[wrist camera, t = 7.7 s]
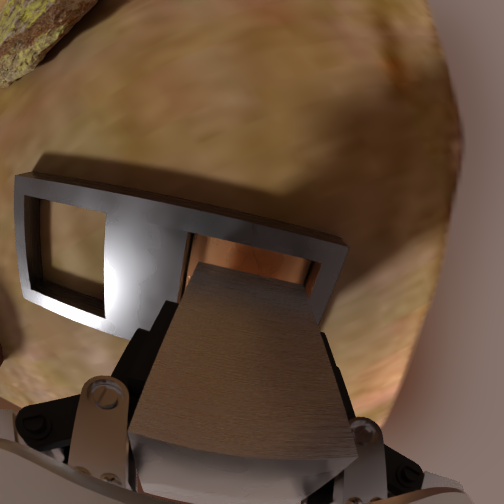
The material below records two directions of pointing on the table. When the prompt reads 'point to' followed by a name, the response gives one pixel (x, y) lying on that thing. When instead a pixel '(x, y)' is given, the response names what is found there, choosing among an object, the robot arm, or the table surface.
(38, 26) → the rock
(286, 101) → the table surface
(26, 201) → the dark grey slotted tray
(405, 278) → the table surface
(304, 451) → the silver rectangular block
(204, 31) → the table surface
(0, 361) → the muffin
